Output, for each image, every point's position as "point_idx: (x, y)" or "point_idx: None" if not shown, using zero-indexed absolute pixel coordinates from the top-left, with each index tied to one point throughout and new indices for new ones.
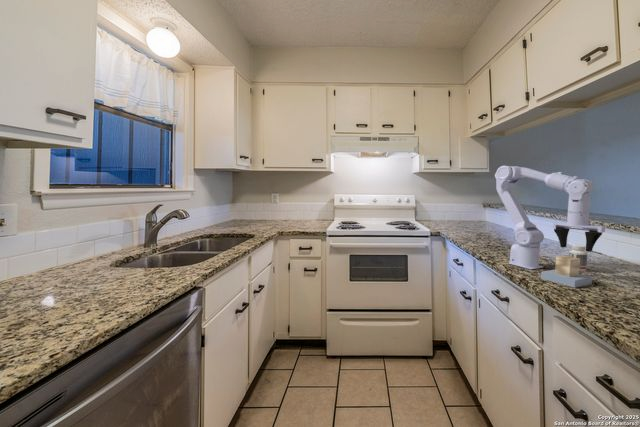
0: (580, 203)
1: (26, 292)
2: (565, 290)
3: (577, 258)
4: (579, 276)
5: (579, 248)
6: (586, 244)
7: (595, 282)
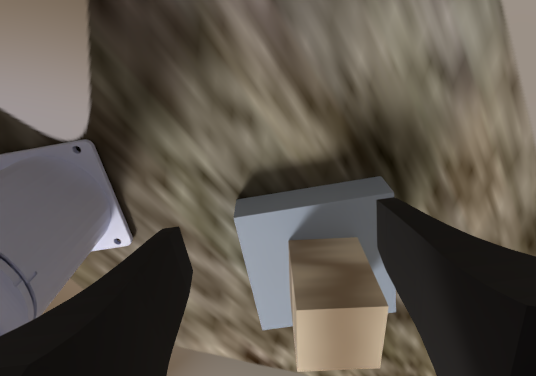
0: None
1: None
2: (390, 336)
3: (376, 313)
4: (366, 245)
5: None
6: (411, 309)
7: (373, 134)
